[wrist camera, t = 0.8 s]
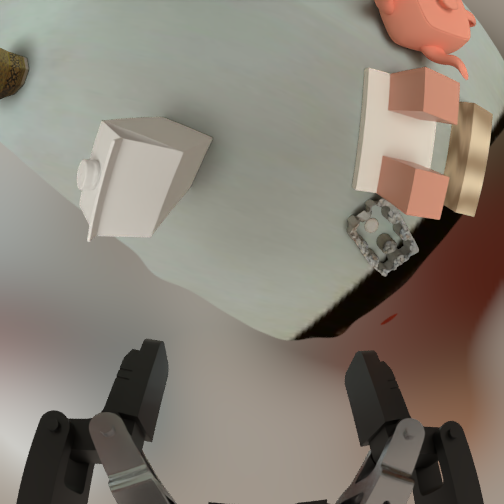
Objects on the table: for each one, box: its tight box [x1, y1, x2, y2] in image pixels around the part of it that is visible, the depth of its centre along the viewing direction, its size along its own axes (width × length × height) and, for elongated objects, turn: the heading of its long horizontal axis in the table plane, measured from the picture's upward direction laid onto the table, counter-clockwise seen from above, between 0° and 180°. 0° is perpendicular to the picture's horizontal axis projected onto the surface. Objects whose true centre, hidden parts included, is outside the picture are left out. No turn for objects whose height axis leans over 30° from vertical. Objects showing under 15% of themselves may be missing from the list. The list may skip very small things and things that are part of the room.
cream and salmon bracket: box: [352, 67, 460, 220], centre depth 26 cm, size 16×11×10 cm
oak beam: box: [443, 102, 493, 217], centre depth 28 cm, size 16×4×5 cm, turn 176°
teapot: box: [374, 0, 476, 80], centre depth 16 cm, size 14×14×11 cm
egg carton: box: [347, 199, 419, 276], centre depth 35 cm, size 11×8×4 cm
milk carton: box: [77, 117, 213, 242], centre depth 23 cm, size 7×7×19 cm
